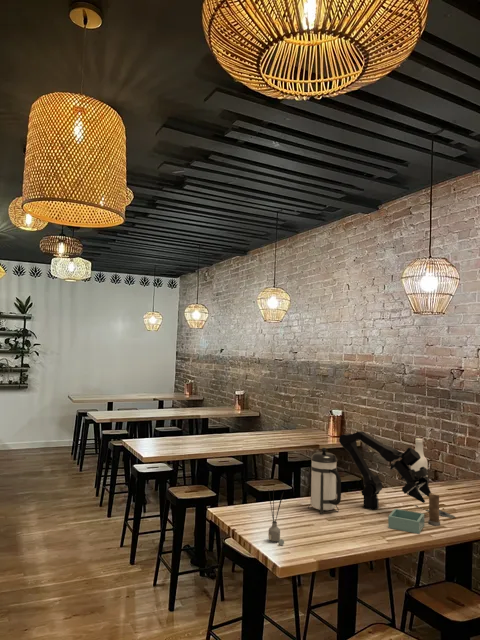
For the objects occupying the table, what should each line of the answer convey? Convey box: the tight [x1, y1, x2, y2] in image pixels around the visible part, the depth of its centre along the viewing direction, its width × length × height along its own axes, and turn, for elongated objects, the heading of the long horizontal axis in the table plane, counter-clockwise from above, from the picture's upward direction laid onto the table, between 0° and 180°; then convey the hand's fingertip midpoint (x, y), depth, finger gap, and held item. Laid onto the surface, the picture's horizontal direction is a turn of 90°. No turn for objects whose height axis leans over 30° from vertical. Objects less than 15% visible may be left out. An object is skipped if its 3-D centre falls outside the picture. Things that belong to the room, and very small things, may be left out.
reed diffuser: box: [267, 489, 285, 546], centre depth 195 cm, size 10×7×20 cm
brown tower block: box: [427, 492, 441, 527], centre depth 220 cm, size 5×5×13 cm
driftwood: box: [414, 504, 456, 520], centre depth 237 cm, size 21×7×2 cm, turn 24°
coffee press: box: [307, 447, 342, 515], centre depth 235 cm, size 17×16×30 cm
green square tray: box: [387, 508, 425, 535], centre depth 215 cm, size 13×13×5 cm
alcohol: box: [410, 437, 429, 496], centre depth 270 cm, size 9×9×30 cm
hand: (428, 500), depth 222 cm, fingers open, 9 cm apart
